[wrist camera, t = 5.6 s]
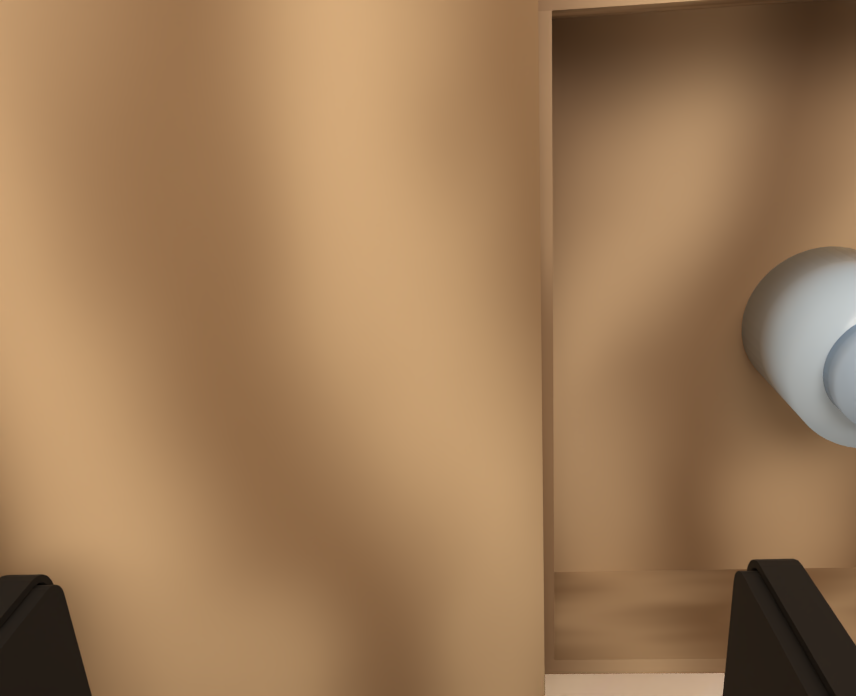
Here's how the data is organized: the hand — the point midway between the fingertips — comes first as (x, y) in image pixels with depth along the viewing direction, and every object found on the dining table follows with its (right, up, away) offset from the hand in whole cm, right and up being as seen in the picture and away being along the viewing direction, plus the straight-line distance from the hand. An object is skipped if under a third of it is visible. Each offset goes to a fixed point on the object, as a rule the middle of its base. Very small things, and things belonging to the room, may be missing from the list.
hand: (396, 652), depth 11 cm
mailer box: (+9, +5, +12) cm, 16 cm away
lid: (-1, +1, +3) cm, 3 cm away
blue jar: (+12, +5, +11) cm, 17 cm away
